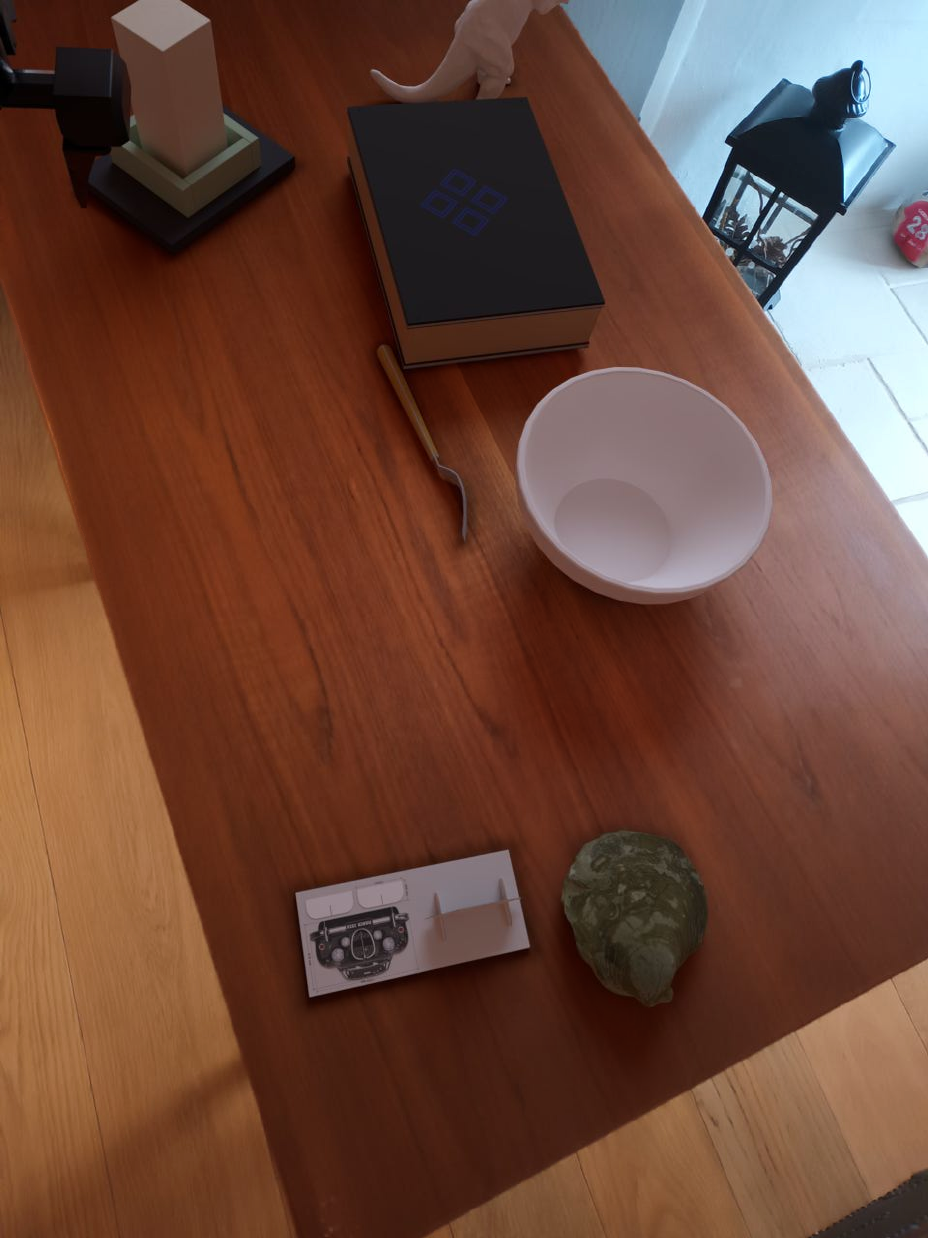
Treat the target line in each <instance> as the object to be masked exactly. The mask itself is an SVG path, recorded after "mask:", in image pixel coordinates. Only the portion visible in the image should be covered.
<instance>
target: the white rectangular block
mask: <svg viewBox="0 0 928 1238" xmlns="http://www.w3.org/2000/svg"><path fill="white" fill-rule="evenodd" d="M110 19H111V20H110V21H111V24H112V28H113V32H114V36H115V40H116V44H117V49H118V53H119V54H118V55H119V56H120V57H121V58H122V59H123V60H124V61H125V63H126V66H127V70H128V74H129V78H130V83H131V109H132V111H133V112H132V113H133V115H134V116H135V120H136V124H137V129H138V133H139V137H140V141H141V145H142V150H143V151H145V152H146V153H147V154H149V155H150V156H151V157H153V158H154V159H155V160H157V161H158V162H160V163H161V164H162V165H164V166H165V167H166V168H168V169H169V170H171V171H172V172H173V173H175V174H176V175H177V176H179V177H180V178H181V179H184V178H185V177H187V176H188V175H190V174H191V173H193V172H194V171H196V170H197V169H199V168H200V167H201V166H203V165H204V164H206V163H207V162H209V161H210V160H212V159H213V158H215V157H216V156H217V155H219V154H220V153H222V152H223V151H225V150H226V149H228V145H227V137H226V130H225V123H224V115H223V108H222V105H223V101H222V94H221V93H222V92H221V87H220V79H219V72H218V65H217V58H216V50H215V43H214V35H213V28H212V20H211V19H209V18H208V17H206V16H205V15H203V14H202V13H200V12H198V10H195V9H194V8H193V7H191V6H189V5H188V4H186V3H184V2H183V1H182V0H137V1H136V2H134V3H132V4H130V5H128V6H127V7H126V8H124V9H122V10H120V11H119V12H117V13H116V14H114V15H113V16H111V17H110Z"/></svg>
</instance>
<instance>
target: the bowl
mask: <svg viewBox="0 0 928 1238" xmlns="http://www.w3.org/2000/svg"><path fill="white" fill-rule="evenodd" d="M757 442H758V441H756V440H755V438H754V437H753V435H752V434H751V432H750V431H749V429H748V428H747V426H746V425H745V424H744V422H743V421H742V420H741V419H739V418H738V416H737V415H736V414H735V412H733V411H732V410H731V409H730V408H729V407H728V406H727V405H726V404H724V403H723V402H722V401H720V400H719V399H718V398H717V397H715V396H714V395H712V394H711V393H710V392H708V391H707V390H705V389H703V388H702V387H699V386H697V385H695V384H694V383H692V382H689V381H688V380H686V379H683V378H680V377H678V376H675V375H672V374H669V373H666V372H663V371H660V370H653V369H648V368H643V367H629V366H627V367H626V366H625V367H623V366H613V367H608V368H602V369H601V368H600V369H594V370H591V371H587V372H585V373H582V374H579V375H577V376H574V377H571V378H569V379H567V380H566V381H564V382H563V383H560V384H559V385H558V386H556V387H554V388H553V389H552V390H550V391H549V392H548V393H547V394H546V395H545V396H544V397H543V398H541V400H540V401H539V402H538V403H537V404H536V406H535V407H534V409H533V410H532V412H531V413H530V415H529V416H528V418H527V419H526V421H525V423H524V426H523V428H522V432H521V435H520V438H519V441H518V444H517V448H516V449H517V450H516V458H515V467H514V480H515V488H516V496H517V497H516V498H517V504H518V507H519V511H520V513H521V516H522V519H523V522H524V525H525V527H526V529H527V531H528V532H529V534H530V536H531V537H532V539H533V541H534V542H535V544H536V546H537V547H538V548H539V550H541V552H542V553H543V554H544V555H545V556H546V557H547V559H548V560H549V561H550V562H551V563H552V564H553V565H554V566H555V568H557V569H558V570H559V571H561V572H562V573H563V574H565V575H566V577H568V578H569V579H571V580H572V581H574V582H575V583H577V584H579V585H580V586H582V587H584V588H586V589H587V590H589V591H591V592H594V593H596V594H599V595H601V596H605V597H608V598H610V599H613V600H616V601H620V602H627V603H633V604H638V605H639V604H640V605H669V604H672V603H678V602H681V601H686V600H690V599H692V598H695V597H697V596H699V595H702V594H704V593H707V592H708V591H711V590H713V589H715V588H717V587H719V586H721V585H723V584H725V582H726V581H728V580H729V579H730V578H732V577H733V576H734V575H736V574H737V573H739V572H740V571H741V570H742V569H743V568H745V567H746V565H747V564H748V563H749V562H750V561H751V560H752V558H753V557H754V556H755V555H756V553H757V552H758V551H759V549H760V548H761V545H763V541H764V539H765V537H766V534H767V532H768V531H769V528H770V523H771V517H772V512H773V508H774V507H773V483H772V480H771V477H770V476H771V475H770V472H769V468H768V464H767V462H766V459H765V457H764V455H763V453H762V451H761V449H760V446H759V444H758V443H757Z"/></svg>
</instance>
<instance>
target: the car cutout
mask: <svg viewBox="0 0 928 1238" xmlns="http://www.w3.org/2000/svg"><path fill="white" fill-rule="evenodd" d="M294 895H295V900H296V901H295V902H296V909H297V915H298V916H297V917H298V923H299V931H300V938H301V946H302V953H303V960H304V967H305V975H306V982H307V990H308V991H307V992H308V998H314V997H317V996H323V995H327V994H331V993H336V992H340V991H344V990H349V989H353V988H358V987H362V986H367V985H370V984H375V983H376V984H377V983H380V982H385V981H389V980H393V979H398V978H403V977H407V976H411V975H415V974H420V973H423V972H424V973H425V972H429V971H434V970H438V969H442V968H447V967H451V966H455V965H460V964H464V963H468V962H472V961H477V960H482V959H486V958H490V957H495V956H499V955H503V954H508V953H513V952H517V951H521V950H525V949H530V948H531V944H530V939H529V936H528V931H527V926H526V921H525V918H524V912H523V907H522V903H521V900H522V897H521V896H520V895H519V889H518V885H517V880H516V876H515V872H514V867H513V863H512V858H511V854H510V849H503V850H499V851H493V852H489V853H484V854H478V855H474V856H470V857H469V856H468V857H465V858H464V857H463V858H460V859H459V858H458V859H454V860H448V861H444V862H439V863H435V864H430V865H424V866H420V867H415V868H410V869H405V870H401V871H396V872H391V873H385V874H380V875H375V876H370V877H365V878H360V879H355V880H351V881H346V882H341V883H335V884H331V885H326V886H321V887H320V886H319V887H315V888H311V889H306V890H301V891H296V892H295V894H294Z"/></svg>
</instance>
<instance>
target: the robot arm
mask: <svg viewBox="0 0 928 1238" xmlns="http://www.w3.org/2000/svg"><path fill="white" fill-rule="evenodd" d="M17 21H18V16H17V12H16V7H15V3H14V0H0V111H2V110H3V108H5V109H34V110H37V109H38V110H54V112H55V118H56V122H57V125H58V128H59V129H58V130H59V132H60V135H61V136H62V146H61V152H62V154H63V159H64V162H65V167H66V169H67V172H68V176H69V179H70V184H71V187H72V190H73V194H74V197H75V200H76V201H77V203H78V205H79V207H80V209H88V197H89V195H88V194H89V191H88V180H89V175H90V172H91V169H92V166H93V163H94V161H95V160H96V157H101V156H106V155H108V154H109V153H110V152H111V150H112V147H121V146H123V145H124V144H126V143H127V142H129V141H130V117H131V109H132V104H131V83H130V78H129V74H128V70H127V66H126V63H125V61H124V60H123V59H122V58H121V57H120V54H118V53H117V52H116V51H115V50H114V49H113V48H99V47H79V46H78V47H74V46H56V47H55V48H56V49H55V62H54V70H51V69H28V68H27V69H26V68H25V69H24V68H12V65H11V63H10V60H9V57H8V56H13V57H15V56H16V55H17V49H18V41H17V37H16V35H15V32H14V30H13V27H12V24H13V23H17Z"/></svg>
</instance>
